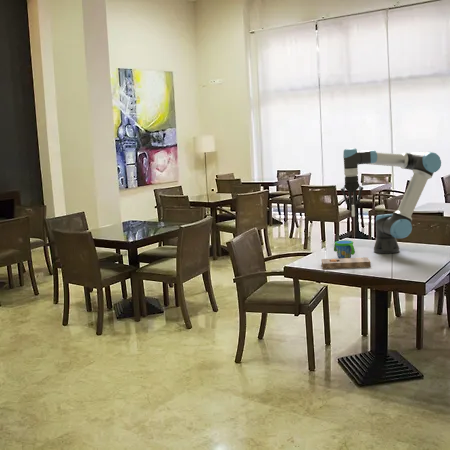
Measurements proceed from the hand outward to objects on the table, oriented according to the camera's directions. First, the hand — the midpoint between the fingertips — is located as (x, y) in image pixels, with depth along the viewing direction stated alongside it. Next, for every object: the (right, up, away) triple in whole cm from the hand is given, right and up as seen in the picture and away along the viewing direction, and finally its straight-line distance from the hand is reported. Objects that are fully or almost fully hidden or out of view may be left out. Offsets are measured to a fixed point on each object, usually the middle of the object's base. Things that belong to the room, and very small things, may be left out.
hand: (353, 216), depth 336 cm
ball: (-13, -26, -9) cm, 31 cm away
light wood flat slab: (-6, -28, -9) cm, 30 cm away
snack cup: (-3, -25, +9) cm, 27 cm away
